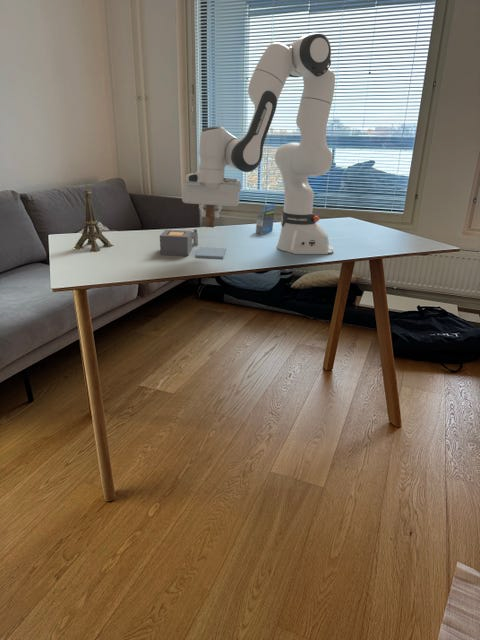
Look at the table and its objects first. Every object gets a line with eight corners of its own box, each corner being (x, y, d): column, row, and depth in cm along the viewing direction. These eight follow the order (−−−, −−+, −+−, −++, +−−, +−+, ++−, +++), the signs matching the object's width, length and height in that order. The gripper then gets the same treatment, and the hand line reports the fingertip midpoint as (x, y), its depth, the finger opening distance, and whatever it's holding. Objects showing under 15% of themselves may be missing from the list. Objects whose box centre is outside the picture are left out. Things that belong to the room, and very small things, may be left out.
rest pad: (225, 250, 164) (225, 248, 164) (223, 258, 153) (223, 256, 153) (200, 248, 164) (200, 246, 164) (195, 257, 153) (195, 255, 153)
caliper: (197, 245, 169) (197, 230, 167) (195, 246, 169) (195, 230, 166) (184, 234, 187) (184, 220, 184) (182, 234, 186) (181, 220, 184)
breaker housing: (192, 249, 163) (191, 231, 161) (187, 256, 154) (187, 237, 151) (166, 247, 164) (165, 229, 161) (160, 254, 155) (159, 235, 152)
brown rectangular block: (214, 225, 155) (215, 203, 152) (213, 227, 153) (214, 204, 150) (206, 225, 156) (206, 203, 152) (205, 227, 153) (205, 204, 150)
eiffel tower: (72, 248, 158) (63, 178, 148) (90, 242, 167) (83, 176, 157) (96, 252, 155) (88, 180, 145) (113, 245, 164) (107, 178, 154)
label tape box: (265, 229, 201) (267, 203, 196) (273, 231, 199) (275, 204, 193) (255, 232, 194) (256, 205, 189) (262, 234, 192) (264, 206, 187)
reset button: (184, 240, 160) (184, 232, 158) (182, 243, 155) (182, 235, 154) (170, 239, 160) (170, 231, 159) (168, 242, 155) (167, 234, 154)
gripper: (241, 178, 150) (239, 217, 156) (184, 174, 151) (184, 214, 156) (240, 180, 144) (238, 221, 150) (181, 176, 145) (180, 217, 150)
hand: (210, 217), depth 153 cm, fingers closed on brown rectangular block, 3 cm apart
